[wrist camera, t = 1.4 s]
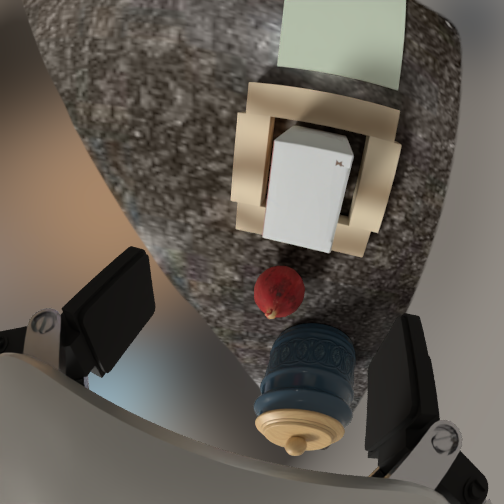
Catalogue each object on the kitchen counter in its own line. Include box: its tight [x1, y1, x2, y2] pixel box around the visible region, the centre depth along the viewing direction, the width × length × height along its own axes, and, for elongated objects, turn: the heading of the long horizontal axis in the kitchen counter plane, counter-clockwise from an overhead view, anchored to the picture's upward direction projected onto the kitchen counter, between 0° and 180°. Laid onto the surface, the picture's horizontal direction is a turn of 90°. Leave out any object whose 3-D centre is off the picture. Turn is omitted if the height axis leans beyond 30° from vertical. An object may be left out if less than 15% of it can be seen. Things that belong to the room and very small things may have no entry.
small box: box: [262, 125, 354, 253], centre depth 24 cm, size 8×6×10 cm
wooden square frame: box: [231, 82, 402, 257], centre depth 27 cm, size 16×16×2 cm
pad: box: [277, 0, 406, 90], centre depth 19 cm, size 12×12×1 cm
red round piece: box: [254, 266, 305, 319], centre depth 33 cm, size 6×6×8 cm
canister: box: [254, 323, 356, 456], centre depth 34 cm, size 13×13×18 cm
